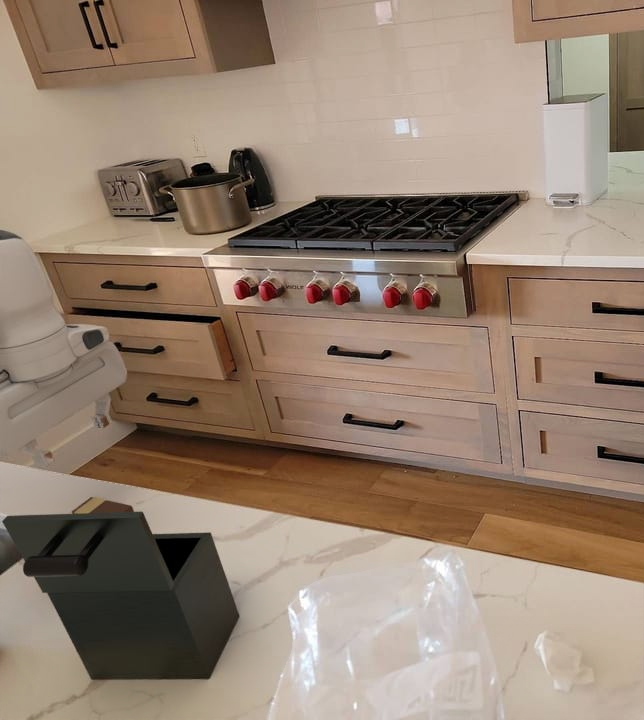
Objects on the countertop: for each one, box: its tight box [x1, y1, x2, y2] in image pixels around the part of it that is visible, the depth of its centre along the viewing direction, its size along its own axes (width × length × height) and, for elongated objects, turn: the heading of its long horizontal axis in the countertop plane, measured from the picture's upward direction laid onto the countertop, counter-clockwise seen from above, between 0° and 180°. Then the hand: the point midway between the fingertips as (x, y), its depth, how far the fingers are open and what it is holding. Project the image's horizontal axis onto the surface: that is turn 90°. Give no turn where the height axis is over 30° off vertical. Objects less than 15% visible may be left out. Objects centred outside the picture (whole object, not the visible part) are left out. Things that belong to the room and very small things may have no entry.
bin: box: [46, 531, 240, 680], centre depth 75 cm, size 9×14×13 cm, turn 86°
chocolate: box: [71, 496, 135, 514], centre depth 98 cm, size 8×4×3 cm, turn 69°
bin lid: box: [1, 511, 174, 594], centre depth 63 cm, size 10×14×5 cm
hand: (76, 444), depth 93 cm, fingers open, 8 cm apart
